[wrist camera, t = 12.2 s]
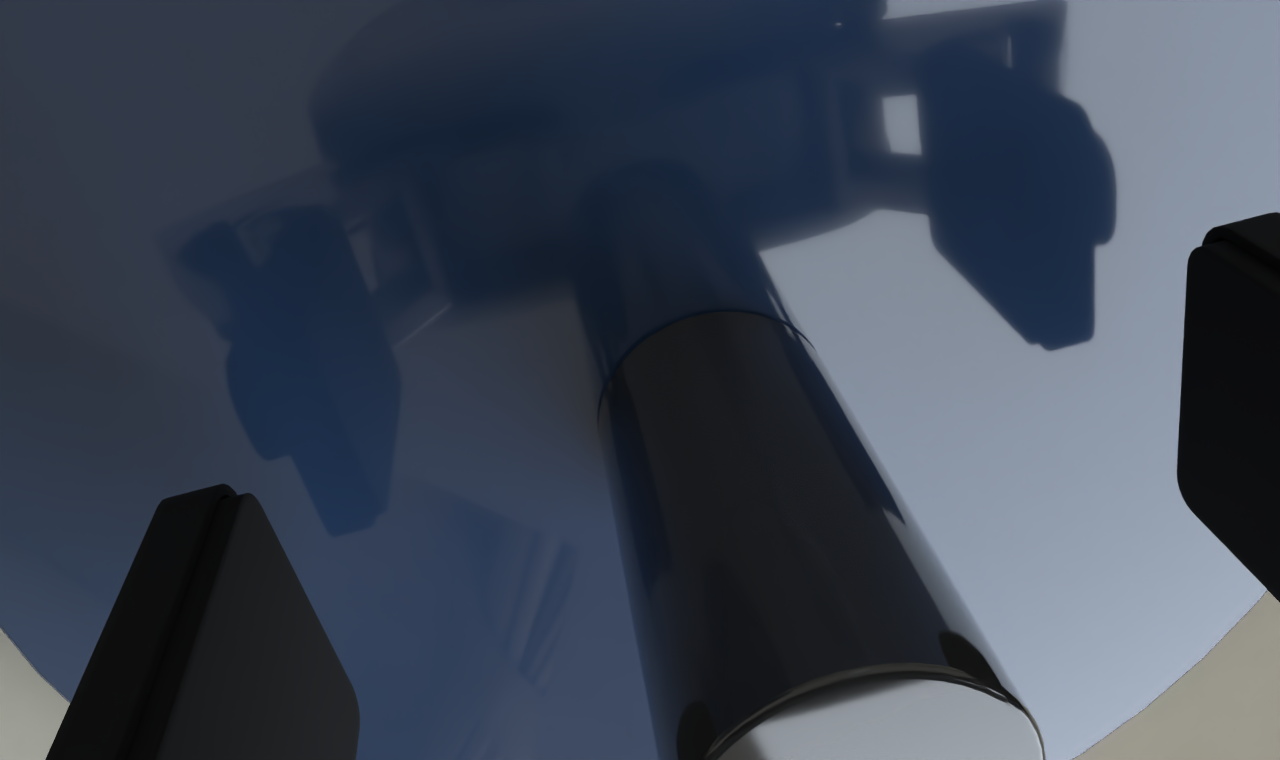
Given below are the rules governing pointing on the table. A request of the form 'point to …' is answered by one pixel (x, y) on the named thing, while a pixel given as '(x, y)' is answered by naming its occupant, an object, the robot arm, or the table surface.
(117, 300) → the pot lid
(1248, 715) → the table surface
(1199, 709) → the table surface
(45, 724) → the table surface
